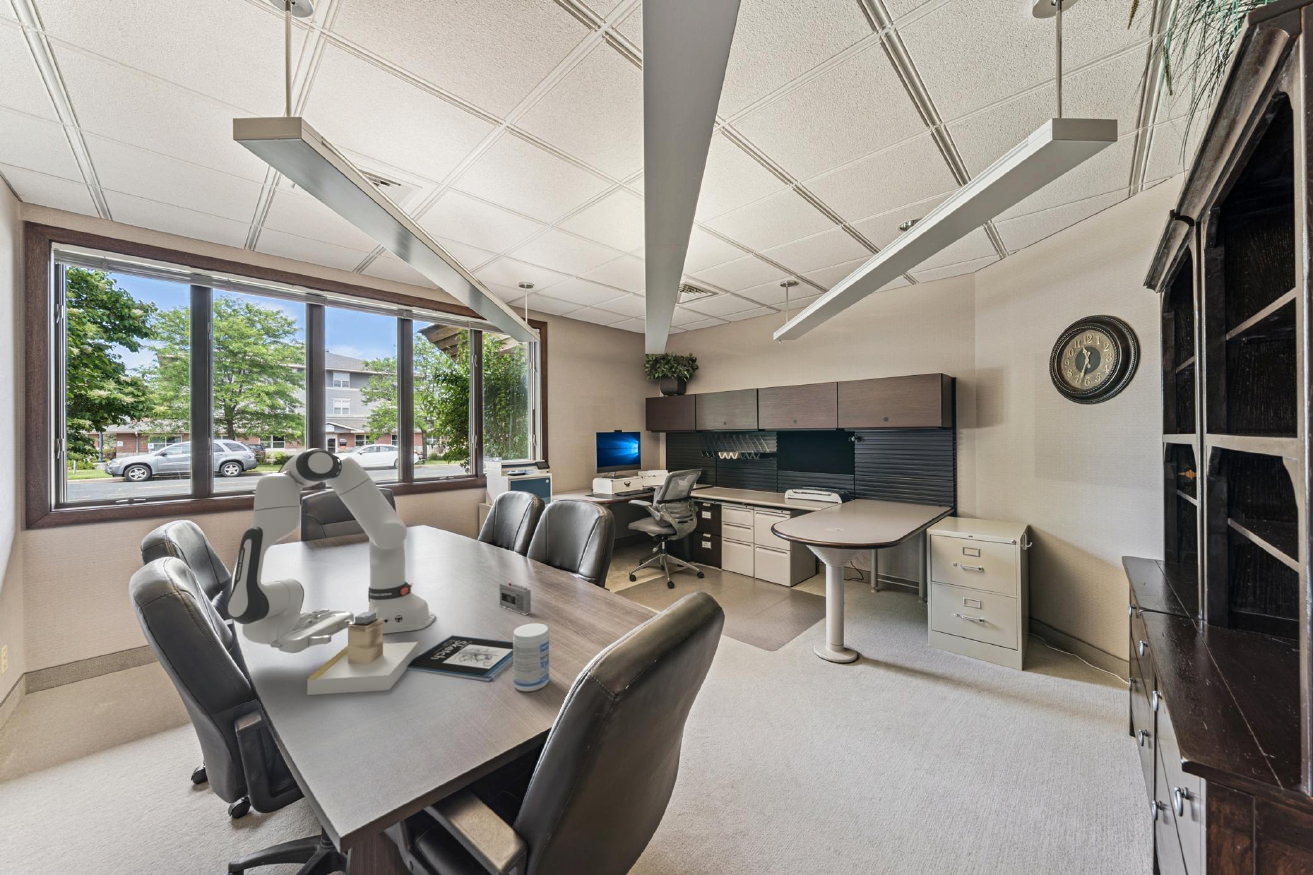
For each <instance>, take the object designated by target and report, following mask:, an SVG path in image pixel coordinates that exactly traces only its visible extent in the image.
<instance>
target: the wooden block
mask: <svg viewBox="0 0 1313 875" xmlns="http://www.w3.org/2000/svg"><path fill="white" fill-rule="evenodd" d="M383 644H384V634H383V618H376V621H375V622H373V623H371V624H370V625H368V626H360V625H355V621H354V623H352V624H350V625H348V628H347V646H348V663H352V664H365V665H368V664H369V663H371V662H372V661H374V660H375V659H377V658H379V657H380V656H382V655H383Z"/></svg>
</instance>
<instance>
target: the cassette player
mask: <svg viewBox="0 0 1313 875" xmlns="http://www.w3.org/2000/svg"><path fill="white" fill-rule="evenodd" d="M531 593H532V592H531V589H529V588H528V586H525V585H521V584H518V583H515V582H507V581H505V582H502V583H499V606H500V605H501V606H505V607H506V608H510V609H512V610H515V611H517V612H520V613H524V614H526V613H529V612H531V610H532V608H531V603H532V602H531V601H532V598H531V597H532V595H531ZM506 608H505V609H506ZM517 612H516V613H517ZM520 613H519V614H520Z"/></svg>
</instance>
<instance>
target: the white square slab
mask: <svg viewBox="0 0 1313 875" xmlns="http://www.w3.org/2000/svg"><path fill="white" fill-rule="evenodd" d="M418 656H419V641H410V642H390V643H389V642H388V643H387V642H386V643H383V655H382V656H380V657H379V658H377V659H375V660H374V661H372V662H371V663H369V664H368V665H365V664H352V663H348V645H346V646H345V647H344V648H343V649H341V651H339V652H338V653H337V654H336V655H334V656H333V657H332V658H331V659H329V660H328V661H326V663H324V664H323V665H322V666H321V667H320V668H318V669H317V670H316V671H315V672H314V673H312V674H311V675H310V676H309V677H308V678H307V680H306V681H307V682H306V683H307V688H306V689H307V696H313V695H315V696H317V695H329V694H331V695H332V694H347V693H348V692H349V693H362V692H363V693H365V692H366V693H367V692H380V691H381V692H382V691H383V692H384V691H389V690H390V689H392V688H393V686H394V685H395V684H396V682H397V681H398V680H399V679H400V678H401V676H402V675H403V674H404V672H406V670H408V669H407V666H408V665H409V664H410V662H411V661H412V660H413V659H414V658H416V657H418Z"/></svg>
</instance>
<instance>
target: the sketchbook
mask: <svg viewBox="0 0 1313 875" xmlns="http://www.w3.org/2000/svg"><path fill="white" fill-rule="evenodd" d="M511 666H513V641H505V640H497V639H488V638H480V637H479V638H478V637H470V636H462V635H461V636H460V635H453V634H452V635H450V636H449V637H447V638H445V639H444V640H442V641H440V642H439V643H437V644H436V645H434V646H432V647H431V648H429V649H428V650H426V651H423V652H422V653H420V654H418V656H417V657H416V658H414V659H413V660H412V661H411V662H410V664H409V665H408V666H407V669H406V670H412V671H418V672H424V673H426V672H427V673H430V674H437V675H445V676H451V677H456V678H457V677H458V678H462V679H463V678H465V679H470V680H477V681H483V682H487V683H488V682H491V681H495V679H497V678H498V677H499V676H501V674H503V673H505V671H506V670H508V669H509V668H510V667H511Z"/></svg>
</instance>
